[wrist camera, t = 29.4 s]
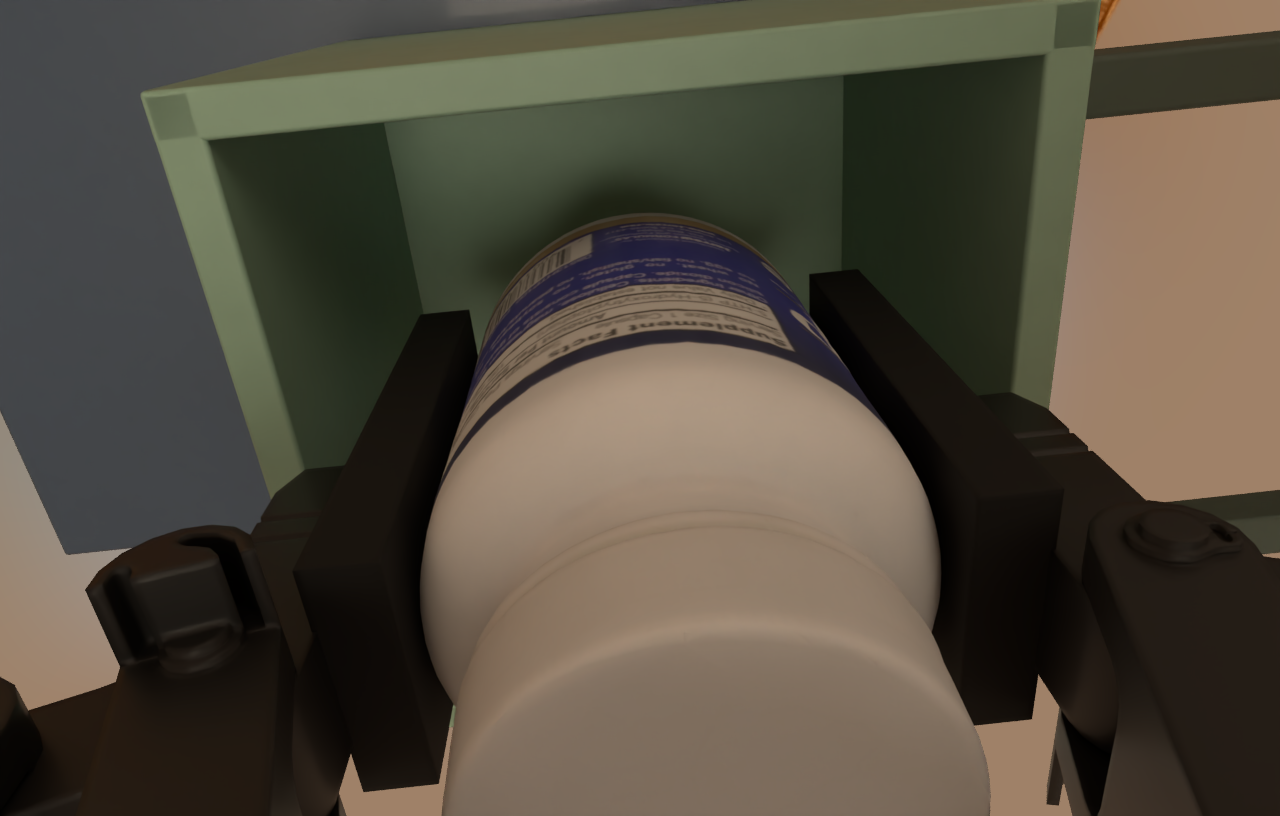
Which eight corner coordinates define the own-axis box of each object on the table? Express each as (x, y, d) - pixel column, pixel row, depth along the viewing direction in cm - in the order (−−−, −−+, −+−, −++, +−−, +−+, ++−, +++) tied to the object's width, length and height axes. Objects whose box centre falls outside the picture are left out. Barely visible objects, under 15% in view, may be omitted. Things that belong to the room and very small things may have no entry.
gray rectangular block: (809, -79, 36) (1033, -138, 18) (811, 255, 42) (979, 458, 24) (197, -17, 36) (-198, -15, 18) (288, 309, 42) (64, 556, 24)
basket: (1235, -76, 18) (1797, -126, 10) (1149, 397, 23) (1477, 638, 15) (337, 14, 18) (121, 43, 10) (439, 473, 23) (353, 762, 14)
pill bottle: (819, 478, 15) (1070, 1015, 7) (523, 529, 15) (455, 1110, 8) (791, 172, 13) (1112, 476, 5) (444, 236, 13) (222, 627, 5)
